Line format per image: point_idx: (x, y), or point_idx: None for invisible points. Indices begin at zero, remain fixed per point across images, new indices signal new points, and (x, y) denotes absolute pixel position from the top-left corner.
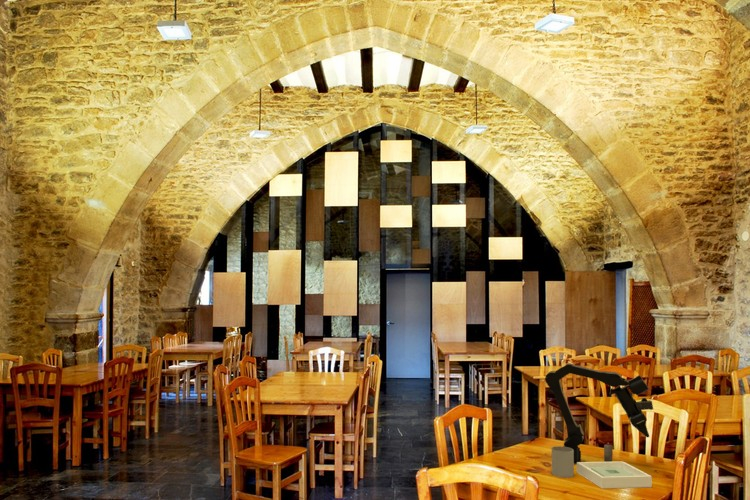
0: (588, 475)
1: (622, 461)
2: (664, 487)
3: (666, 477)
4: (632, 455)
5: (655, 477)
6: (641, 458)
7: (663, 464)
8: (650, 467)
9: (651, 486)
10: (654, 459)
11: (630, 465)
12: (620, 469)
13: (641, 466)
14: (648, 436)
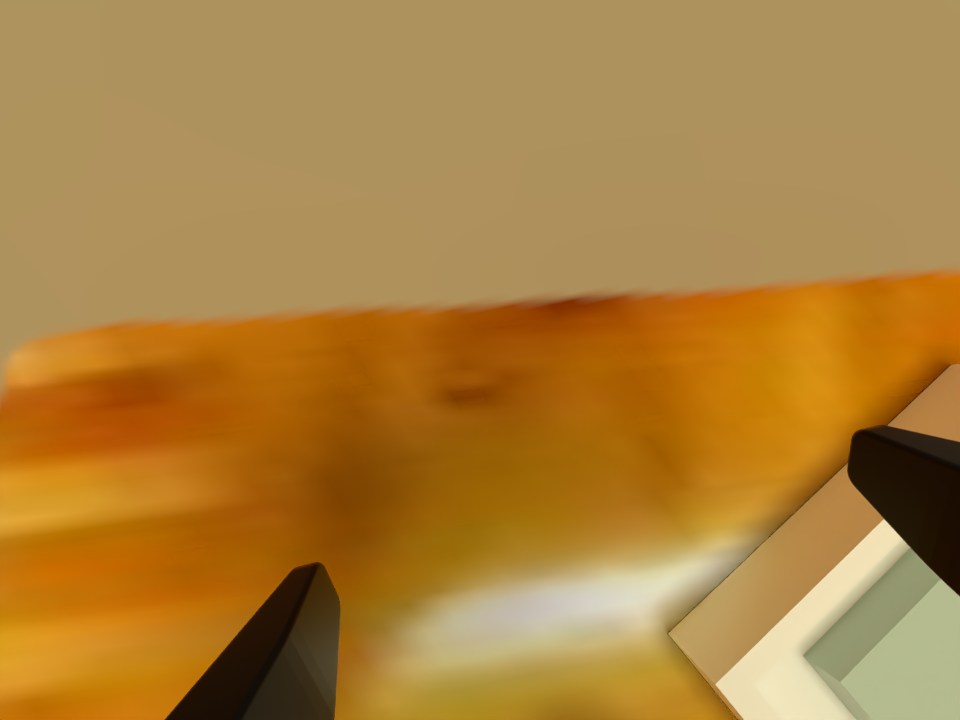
0: None
1: (721, 686)
2: (891, 288)
3: (622, 299)
4: (27, 657)
5: (676, 371)
6: (107, 559)
7: (226, 358)
8: (393, 443)
9: (958, 366)
10: (82, 447)
11: (822, 581)
12: (921, 649)
13: (405, 516)
14: (883, 448)
